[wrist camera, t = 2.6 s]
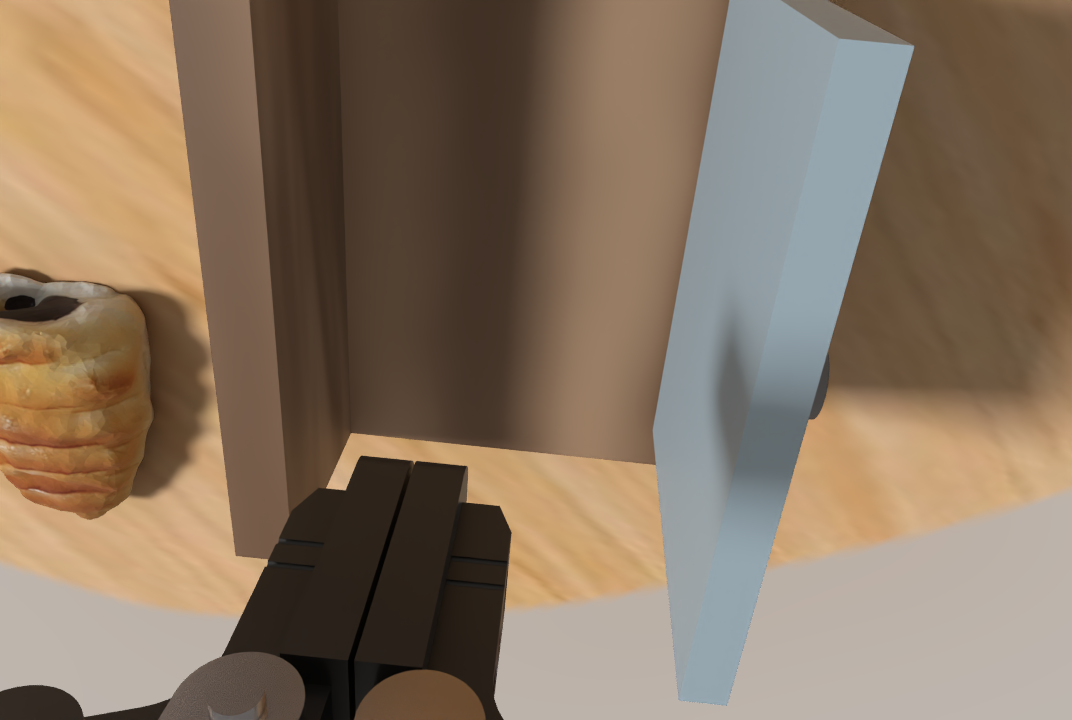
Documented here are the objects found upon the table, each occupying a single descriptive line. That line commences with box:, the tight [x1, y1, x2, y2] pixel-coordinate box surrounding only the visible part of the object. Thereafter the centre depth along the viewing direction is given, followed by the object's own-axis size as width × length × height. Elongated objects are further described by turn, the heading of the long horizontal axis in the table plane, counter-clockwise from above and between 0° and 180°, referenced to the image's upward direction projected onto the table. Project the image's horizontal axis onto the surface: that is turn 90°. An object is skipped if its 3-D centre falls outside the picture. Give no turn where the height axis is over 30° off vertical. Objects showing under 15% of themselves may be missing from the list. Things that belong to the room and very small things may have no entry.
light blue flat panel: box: [653, 0, 915, 706], centre depth 19 cm, size 2×13×10 cm, turn 176°
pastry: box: [0, 273, 154, 520], centre depth 30 cm, size 9×7×4 cm
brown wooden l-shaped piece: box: [169, 0, 729, 559], centre depth 22 cm, size 12×16×9 cm
